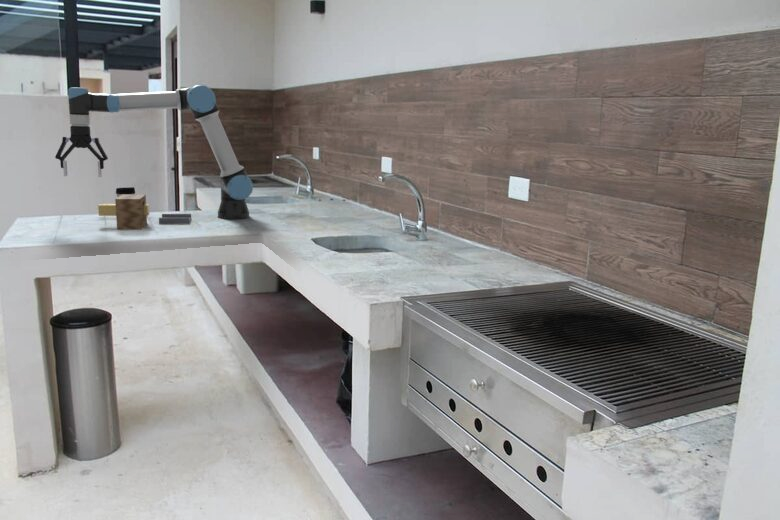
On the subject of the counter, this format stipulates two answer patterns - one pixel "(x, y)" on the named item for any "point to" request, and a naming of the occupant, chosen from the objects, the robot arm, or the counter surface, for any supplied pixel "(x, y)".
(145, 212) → the brass bar
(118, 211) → the wooden block
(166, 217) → the saddle tray
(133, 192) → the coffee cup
